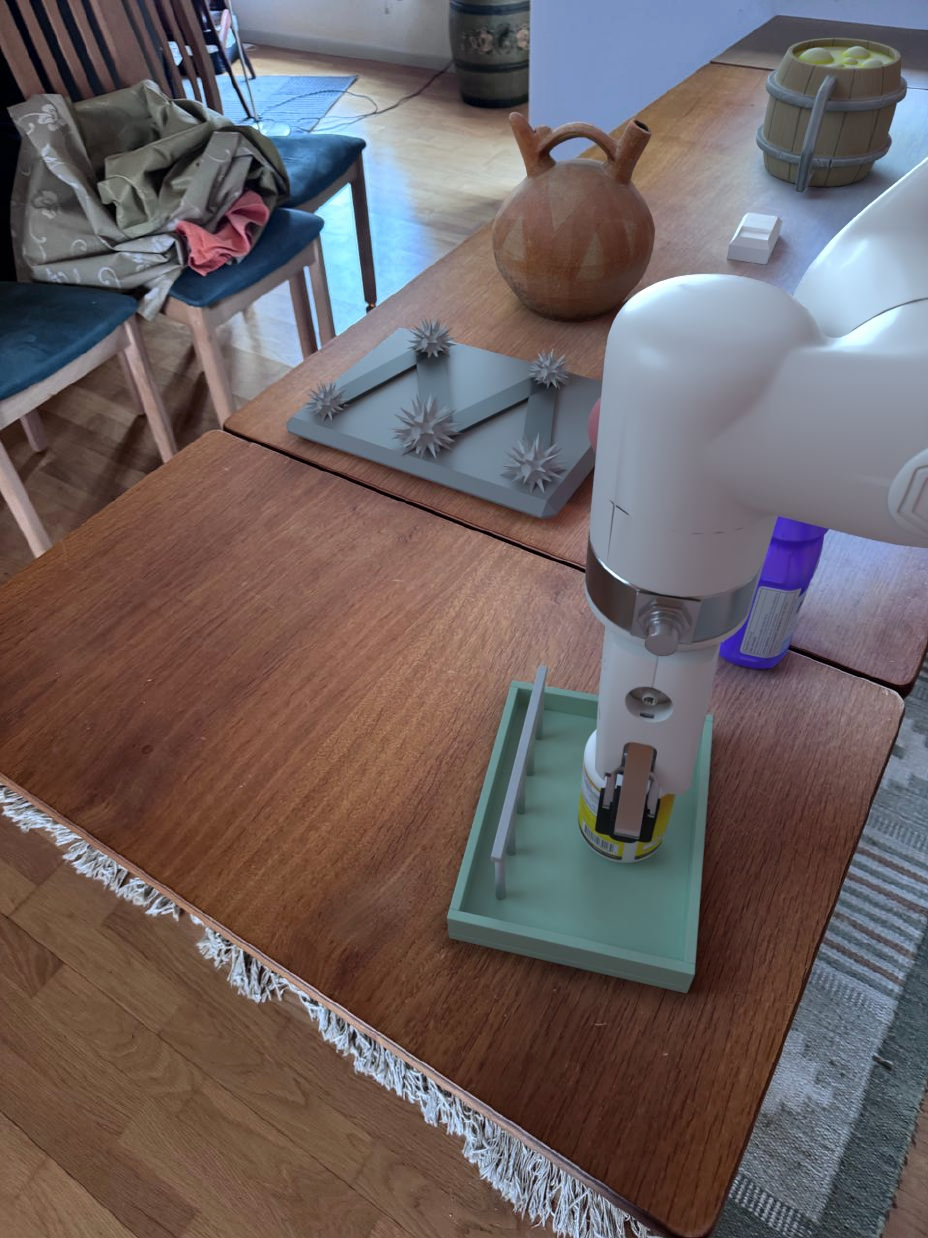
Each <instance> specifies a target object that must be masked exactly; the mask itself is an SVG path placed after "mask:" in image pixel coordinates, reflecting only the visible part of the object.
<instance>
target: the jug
mask: <svg viewBox="0 0 928 1238" xmlns="http://www.w3.org/2000/svg"><path fill="white" fill-rule="evenodd" d="M508 122H509V124H510V127H511V131H512V133H513V136H514V139H515V142H516V145H517V146H518V149H519V152H520V155H521V157H522V161H523V163H524V167H525V172H526V176H525V177H524V178H523V180H521V181H520V182H519V183H518V184H517V185H516V186H515V187H514V188H513V189H512V190H511V191H510V192H509V193H508V194H507V195H506V197H505V199H504V201H503V202H502V204H501V206H500V207H499V209H498V211H497V212H496V215H495V217H494V219H493V223H492V226H491V244H492V250H493V257H494V261H495V264H496V267H497V271H498V272H499V273H500V275H501V276H502V278H503V280H504V282H505V283H506V284H507V286H508V288H510V290H511V291H512V292H513V294H514V295H515V296H516V297H517V298H518V299H519V300H520V301H521V302H522V304H523V305H524V306H525V307H526V308H527V309H529V311H531V312H532V313H534V314H536V315H538V316H541V317H542V318H545V319H549V320H553V321H557V322H558V321H559V322H566V323H570V322H584V321H586V322H587V321H590V320H594V319H598V318H600V317H604V316H606V315H607V314H609V313H610V312H612V311H613V310H614V309H615V308H617V306H618V305H620V304H621V302H623V301H624V300H625V299H626V298H627V297H628V295H630V293H632V292H633V290H634V289H635V288H636V287H637V286H638V284H639V282H640V281H641V279H642V278H643V277H644V275H645V273H646V271H647V269H648V267H649V264H650V261H651V259H652V254H653V251H654V245H655V244H654V243H655V236H656V226H655V223H654V219H653V215H652V213H651V210H650V208H649V206H648V204H647V201H646V198H644V196H643V195H642V194H641V192H640V191H639V189H638V187H637V186H636V184H635V183H634V182H633V181H632V178H633V174H634V170H635V167H636V166H637V163H638V162H639V160H640V158H641V156H642V154H643V153H644V151H645V149H646V147H647V145H648V143H649V141H650V140H651V138H652V131H651V128H650V126H649V125H648V124H646V123H645V122H643V121H641V120H639V119H637V118H631V119H630V121H629V122H628V123H627V126H626V127H625V129H624V131H623V133H622V135H621V137H620V138H619V140H615V139H614V138H612V137H611V136H610V135H609V134H608V133H607V132H605V131H604V130H603V129H602V128H600V127H598V126H596V125H594V124H592V123H589V122H585V121H577V120H576V121H572V122H567V123H565V124H562V125H560V126H558V127H556V128H555V129H553V128H552V127H550V126H548V125H546V124H540V125H537V126H536V127H535V129H533V127H532V126H531V124H530V123H529V122H528V121H527V120H526V118H525V117H524V115H523V114H522V113H520V112H517V111H514V112H511V113H509V116H508ZM577 138H578V139H579V138H583V139H587V140H589V141H591V142H593V143H594V144H595V145H597V146H598V147H599V148H600V149H601V150H602V151H603V153H604V154H605V155H606V160H605V161H601V160H597V159H594V158H587V157H586V158H585V157H578V158H577V157H576V158H568V159H563V160H555V159H554V158H553V157H552V155H551V151H552V150H553V149H554V148H555V147H557V146H558V145H561V144H563V143H564V142H567V141H569V140H572V139H577Z"/></svg>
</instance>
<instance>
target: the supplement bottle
mask: <svg viewBox="0 0 928 1238" xmlns="http://www.w3.org/2000/svg"><path fill="white" fill-rule="evenodd" d="M596 730H597V729H596ZM596 730H595V731H594V732H593V734H592V735H591V736H590V738H589V740H588V742H587V744H586V747H585V752H584V759H583V771H582V781H581V792H580V801H579V811H578V824H579V829H580V832H581V835H582V837H583V839H584V841H585V842H586V843H587V845H588V846H589V847H590V848H591V849H592V850H593V851H594V852H596V853H597V854H598V855H600V856H602V857H604V858H606V859H608V860H611V861H615V862H620V863H631V862H637V861H641V860H643V859H645V858H647V857H649V856H651V855H652V854H653V853H655V852H656V851H657V850H658V848H659V847H660V846H661V844H662V842H663V840H664V838H665V835H666V831H667V827H668V823H669V819H670V815H671V811H672V807H673V803H674V799H675V795H674V794H667V793H664V791H663V790H662V788H661V786H660V790H659V795H658V799H660V807H659V812H658V816H657V820H656V824H655V828H654V832H653V836H652V840H651V842H649V843H643V842H638V841H636V842H635V843H624V842H619V841H615V840H613V839H612V838H610V836H609V835H604V834H600V833H597V832H596V831H595V824H596V817H597V810H598V803H599V797H600V790H601V788H605V787H606V781H607V777H605V781H604V780H602V779H601V778H600V776H599V775H598V774H597V772H596V770H595V752H596ZM625 754H627V753H625ZM652 759H653V758H652ZM622 779H623V775H619V774H618V775H617V781H616V786H617V785H620V786H622ZM649 782H650V780H649V781H648V787H649ZM648 787H647V793H648ZM615 788H616V787H615Z"/></svg>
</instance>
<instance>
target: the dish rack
mask: <svg viewBox="0 0 928 1238" xmlns="http://www.w3.org/2000/svg"><path fill="white" fill-rule="evenodd" d="M548 669H549V668H548V666H547V665H541V664H539V665H538V667H537V671H536V676H535V678H534V683H529V682H524V681H518V680H511V683H510V686H509V689H508V693H507V696H506V701H505V704H504V708H503V712H502V715H501V718H500V722H499V726H498V730H497V733H496V737H495V741H494V743H493V744H494V745H493V748H492V752H491V756H490V758H489V763H488V765H487V770H486V774H485V777H484V781H483V785H482V787H481V792H480V795H479V799H478V803H477V807H476V810H475V813H474V814H475V815H474V817H473V822H472V825H471V829H470V832H469V835H468V839H467V843H466V847H465V850H464V854H463V858H462V862H461V865H460V868H459V873H458V876H457V880H456V883H455V887H454V891H453V894H452V898H451V900H450V901H451V902H450V905H449V909H448V912H447V916H446V921H447V929H448V938H449V939H452V940H456V941H460V942H465V943H469V944H474V945H477V946H482V947H486V948H490V949H495V950H498V951H502V952H508V953H512V954H516V955H520V956H525V957H529V958H534V959H538V960H541V961H546V962H551V963H554V964H559V965H563V966H568V967H572V968H575V969H580V970H584V971H589V972H593V973H596V974H602V975H606V976H610V977H615V978H619V979H623V980H627V981H631V982H636V983H640V984H645V985H649V986H653V987H657V988H661V989H667V990H670V991H674V992H678V993H679V992H680V993H682V994H683V993H684V994H688V992H689V989H690V988H691V985H692V982H693V980H694V977H695V976H696V964H697V963H696V962H697V950H698V949H697V948H698V937H699V936H698V935H699V924H700V923H699V921H700V906H701V896H702V895H701V894H702V883H703V882H702V881H703V869H704V868H703V867H704V855H705V854H704V853H705V839H706V828H707V827H706V825H707V815H708V814H707V813H708V798H709V788H710V787H709V785H710V772H711V761H712V759H711V758H712V747H713V733H714V730H713V729H714V717H715V716H714V715H713V714H710V713H707V715H706V719H705V724H704V728H703V732H702V737H701V741H700V745H699V749H698V754H697V758H696V763H695V767H694V772H693V777H692V782H691V787H690V789H689V790H688V791H687V792H685V793H684V794H682V795H675V799H674V803H673V807H672V811H671V815H670V819H669V823H668V827H667V831H666V835H665V838H664V840H663V842H662V844H661V846H660V847H659V848H658V850H657V851H656V852H655V853H653V854H652V855H651V856H649V857H647V858H645V859H643V860H641V861H637V862H631V863H620V862H615V861H611V860H608V859H606V858H604V857H602V856H600V855H598V854H597V853H596V852H594V851H593V850H592V849H591V848H590V847H589V846H588V845H587V843H586V842H585V841H584V839H583V837H582V835H581V832H580V829H579V824H578V811H579V801H580V792H581V781H582V771H583V759H584V752H585V747H586V744H587V742H588V740H589V738H590V736H591V735H592V734H593V732H594V731H595V730H596V729H597V714H598V698H599V694H593V693H588V692H582V691H577V690H570V689H564V688H558V687H555V686H553V687H552V686H548V685H546V680H547V676H548V672H549V671H548Z"/></svg>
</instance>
